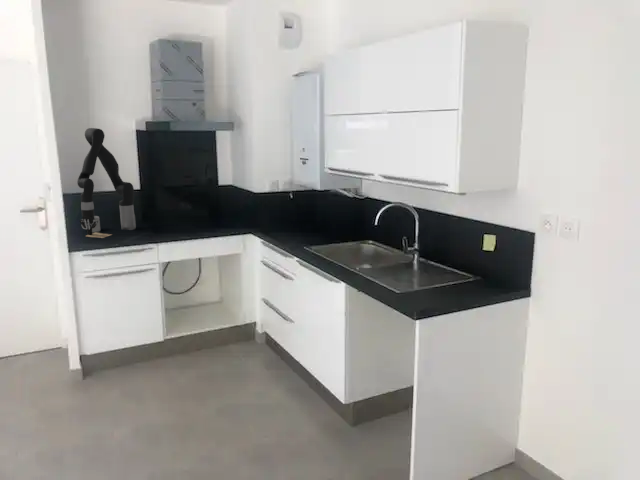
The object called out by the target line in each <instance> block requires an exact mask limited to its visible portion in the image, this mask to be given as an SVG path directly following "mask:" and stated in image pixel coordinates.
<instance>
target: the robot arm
mask: <svg viewBox="0 0 640 480" xmlns="http://www.w3.org/2000/svg"><path fill="white" fill-rule="evenodd" d="M84 136H85V137H84V138H85V139H86V142H87V143H88V144H89V146H90V149H89V150H88V153H87V154H86V155H85V158H84V160H83V164H82V169H81V172H79V173H80V174H79V175H78V178H77V183H76V184H77V186H78V187H79V188H80V189H83V191H82V193H80V209H81V217H82V218H81V219H80V220H79V223H80V224H82V225H81V227H82V226H83V227H84V228H86V229H85V230H86V234H87V235H92V233H93V232H92V229H93V228H95V226H96V225H97V223H98V221H96V220H95V218H94V216H95V205H94V199H93V198H94V197H93V196H94V195H93V194H94V189H95V184H94V181H93V179H91V178H90V177H91V176H93V175H94V173H95V168H96V164H97V159H98V160H99V162H100V163H101V166H102V167H103V169H104V171H105V172H106V174H107V175H108V177H109V179H110V181H111V184H112V185H113V188H114V190H115V192H116V194H118V195H120V196H122V200H119V201H118V205H119V216H120V226H121V230H124V231H125V230H126V231H128V230H129V231H133V230H136V228H137V224H136V223H137V222H136V215H135V210H134V209H135V207H134V201H135V189H134V185H133V183H131V182H129V181H128V182H127V181H124V180H123V179H122V178H121V176H120V173H119V171H120V170H119V163H118V161H117V159H116V158H115V156H114V155H113V153H111V151H109V149H107V147H105V146H104V145H103V144H104V143H103V142H104V140H105V132H104V131H103V129H101V128H96V127H95V128H94V127H88V128H85V131H84Z"/></svg>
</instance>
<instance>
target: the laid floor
mask: <svg viewBox="0 0 640 480" xmlns="http://www.w3.org/2000/svg"><path fill="white" fill-rule="evenodd" d="M112 235H113V234H112V233H111V234H110V233H103V235H100V236H97V237H96V238H101V239H105V238H107V237H109V236H112Z"/></svg>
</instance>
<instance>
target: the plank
mask: <svg viewBox="0 0 640 480" xmlns="http://www.w3.org/2000/svg"><path fill="white" fill-rule="evenodd" d="M103 234H104V233H102V232H92V235H88V234H87V235H85V237H86V238H87V237H88V238H98V237H97V236H100V235H103Z"/></svg>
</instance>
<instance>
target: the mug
mask: <svg viewBox="0 0 640 480" xmlns="http://www.w3.org/2000/svg"><path fill="white" fill-rule="evenodd" d="M94 218H95V220H96V221H98V223H97V225H96V226H95V228H93V229H92V233H95V232H97V233H99V232H101V221H100V216H98V215H94ZM80 224H81V223H80ZM81 228H82V229H83V230H87V229H86V228H84V227H83V226H82V224H81Z"/></svg>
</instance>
